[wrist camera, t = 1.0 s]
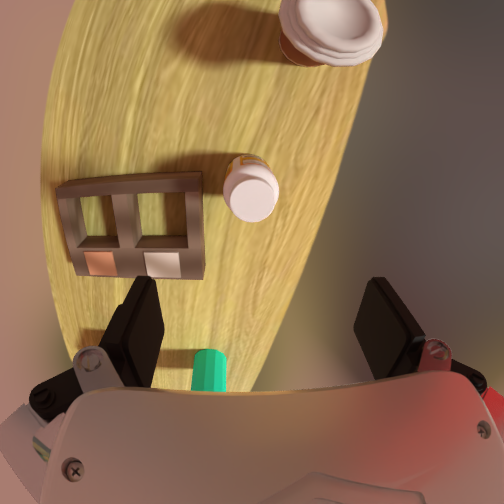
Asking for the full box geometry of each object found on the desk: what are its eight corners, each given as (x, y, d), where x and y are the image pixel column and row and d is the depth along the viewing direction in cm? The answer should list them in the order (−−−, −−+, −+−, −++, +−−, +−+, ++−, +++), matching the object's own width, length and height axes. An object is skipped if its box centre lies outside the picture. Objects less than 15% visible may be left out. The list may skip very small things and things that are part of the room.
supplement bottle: (240, 204, 34) (242, 240, 25) (217, 168, 31) (208, 192, 23) (279, 182, 33) (294, 211, 24) (256, 145, 30) (264, 159, 22)
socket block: (68, 180, 30) (53, 189, 27) (202, 171, 31) (197, 179, 28) (86, 262, 37) (75, 276, 33) (205, 265, 38) (202, 281, 34)
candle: (199, 345, 46) (193, 403, 35) (231, 353, 47) (231, 411, 37) (190, 363, 48) (184, 417, 38) (220, 371, 50) (218, 424, 39)
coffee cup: (341, 17, 22) (387, -15, 12) (343, 81, 26) (395, 73, 16) (265, 8, 22) (280, -37, 11) (267, 75, 26) (284, 56, 16)
